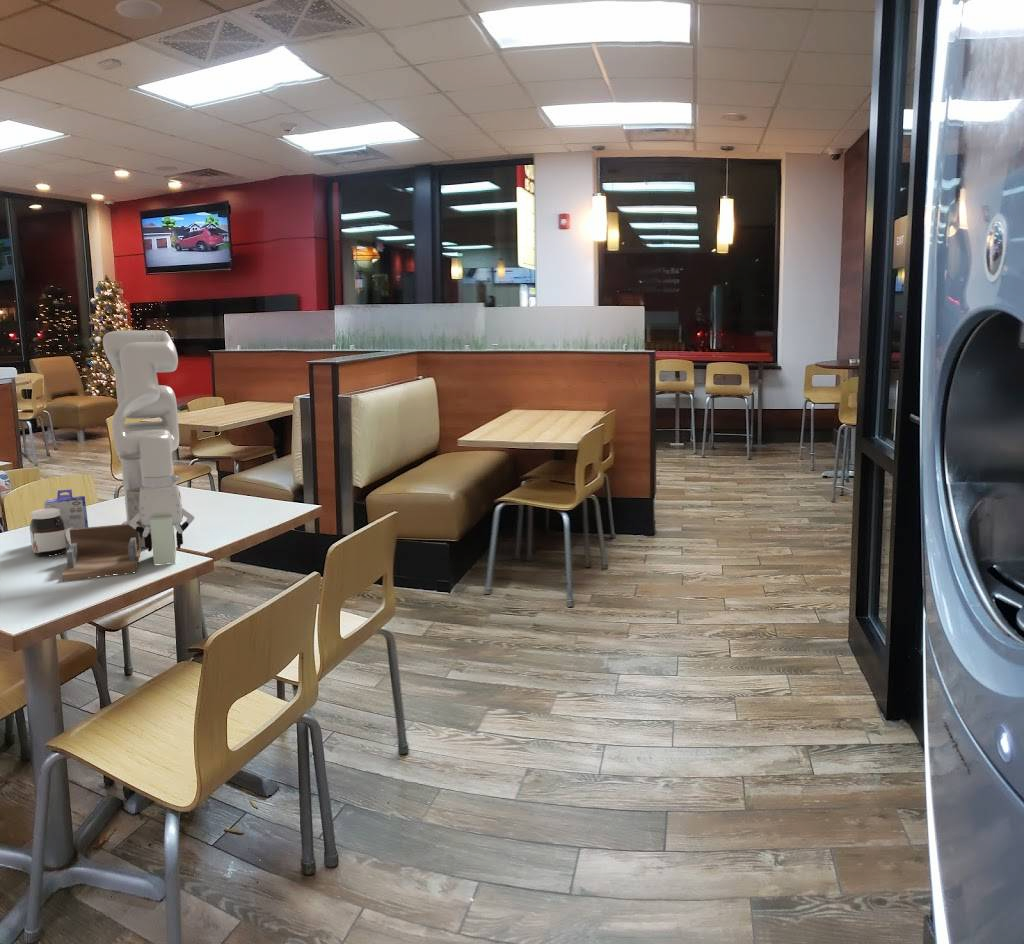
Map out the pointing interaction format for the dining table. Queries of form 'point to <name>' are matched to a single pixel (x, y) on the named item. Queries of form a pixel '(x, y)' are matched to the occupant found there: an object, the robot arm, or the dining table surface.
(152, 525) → the pale green box
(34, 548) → the spread jar
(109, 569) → the shelf
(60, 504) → the ink cartridge box
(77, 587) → the dining table surface
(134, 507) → the coffee box
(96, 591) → the dining table surface
